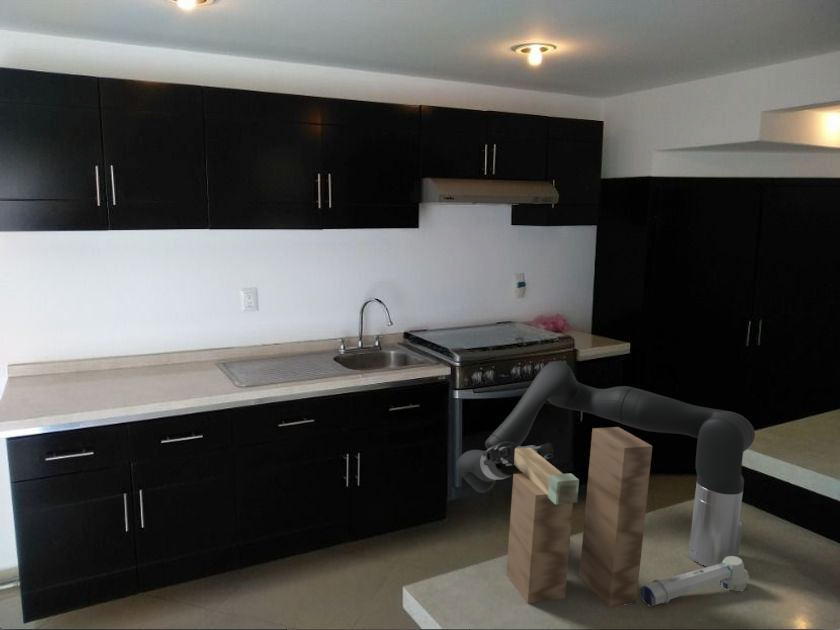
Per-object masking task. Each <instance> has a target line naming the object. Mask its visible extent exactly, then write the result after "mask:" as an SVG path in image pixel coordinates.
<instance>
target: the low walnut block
mask: <svg viewBox="0 0 840 630" xmlns="http://www.w3.org/2000/svg"><path fill="white" fill-rule="evenodd" d="M510 503H511V505H510V518H509V519H510V520H509V534H508V544H507V545H508V548H507V558H506V559H507V560H506V574H505V575H506V576H507V578H508V579H509V581H510V582H511V583H512V585H513V586H514V587H515V589H516V590H517V591H518V592H519V594H520V596H521V597H522V598H523V599H524V601H525V602H526V604H533V603H541V602H547V601H548V602H549V601H554V600H555V601H556V600H562V599H566V588H567V577H568V576H567V575H568V566H569V565H568V564H569V557H570V556H569V554H570V542H571V533H572V532H571V531H572V530H571V529H572V520H573V519H572V518H573V509H574V508H573V507H574V506H573V505H574V503H568V504H557V505H555V504H554V503H553V502H552V501H551V500H550V499H549V498H548V495H547V494H546V493H545V492H544V491H542V490H541V489H540V488H539V487H538V486H537V485H536V484H535V483H534V482H533V481H531V480H530V479H529V478H528V477H527V476H526V475H525V474H524V473H523V472H520V473H518V474H513V476H512V489H511V502H510Z"/></svg>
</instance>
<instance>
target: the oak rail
mask: <svg viewBox="0 0 840 630" xmlns="http://www.w3.org/2000/svg"><path fill="white" fill-rule="evenodd" d="M514 465H515V466H516V467H517V468H518V469H519V470H520V472H521V473H524V474H525V475H526V476H527V477H528V478H529V479H530V480H531V481H533V482H534V483H535V484H536V485H537V486H538V487H539V488H540V489H541V490H542V491H544V492H545V493H546V494H547V495H548V498H549V499H550V500H551V501H552V502H553V503H554V504H555V505H557V504H568V503H573V504H575V503H576V504H577V503H578V498H579V486H580V479H579V478H577V477H576V476H575V475H574V474H573V473H563V472H562V471H560V470H559V469H558V468H556V467H555V466H554V465H552V464H551V463H550V462H549V461H547V459H544V458H543V457H541V456H540V455H539V454H538V453H536V452H535V451H534V450H533V449H531V448H516V449H515V455H514Z"/></svg>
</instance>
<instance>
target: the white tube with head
mask: <svg viewBox="0 0 840 630" xmlns="http://www.w3.org/2000/svg"><path fill="white" fill-rule="evenodd" d="M749 579H750V574H749V572H748V570H746V569H745V563H744V561H743V560H742V558H740V557H739V556H738V557H735V556H728V557H725V559H724V560H723V562H722V563H721V564H718V565H714V566H710V567H704V568H700V569H695V570H694V571H693V570H692V571H689V572H686V573H682V574H677V575H675V576H671V577H666V578H664V579H661V580H660V579H659V578H656V579H655V580H652V582H651V583H648V584H646V585H643V586H640V588H639V595H640V598H641V600H642V599H643V600H644V601H645V602H646V603H647V604H649V605H650V606H651V607H654V606H657V605H660V604H663V603H662V602H664V603H665V604H668V603H669V602H670V601H671V600H672V599H675V598H678V597H681V596H683V595H686V594H689V593H692V592H695V591H697V590H700V589H701V588H704V587H707V586H710V585H713V584H715V583H717V582H718V584H719V583H720V584H719V586H720V585H721V586H723V587H724V588H726V589H729V590H735V591H734V592H738V591H741V592H743V591H742V590H744V591H745V589H746V587H748V583H747V582H748V581H749ZM721 586H720V587H721ZM724 588H723V589H724ZM643 600H642V601H643ZM644 601H643V602H644ZM645 602H644V603H645ZM646 603H645V604H646ZM659 603H660V604H659ZM647 604H646V605H647ZM650 606H649V607H650Z"/></svg>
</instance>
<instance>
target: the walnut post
mask: <svg viewBox="0 0 840 630" xmlns="http://www.w3.org/2000/svg"><path fill="white" fill-rule="evenodd" d="M590 444H591V445H590V450H589V455H590V456H589V462H588V463H589V465H588V473H587V474H588V475H587V476H588V477H587V486H586V488H587V489H586V499H585V510H584V519H583V520H584V521H583V522H584V523H583V532H582V542H581V554H580V565H579V566H580V567H579V575H578V576H579V577H580V578H581V579H582V580H583V582H585V584H587V586H588V587H589V588H590V589H591V590H592V591H593V592H594V593H595V594H596V595H597V596H598V598H600V600H601V601H602V602H604V603H605V605H606V606H607V607H608V608H613V607H620V606H621V605H622V606H625V605H624V604H629V605H632V604H631V603H635V604H637V599H638V598H637V597H638V590H639V581H640V580H639V579H640V569H641V560H642V549H643V543H644V542H643V539H644V531H645V520H646V513H647V512H646V511H647V510H646V509H647V504H648V503H647V502H648V492H649V482H650V472H651V466H652V465H651V464H652V463H651V462H652V455H653V454H652V453H653V445H651V444H649V443H648V442H646V441H645V440H642V439H641V438H639V437H637V436H635V435H633V434H632V433H630V432H628V431H627V430H624V428H621V427H619V426H614V427H612V426H611V427H597V428H596V427H595V428H594V427H592V431H591V441H590ZM622 606H621V607H622Z"/></svg>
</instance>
